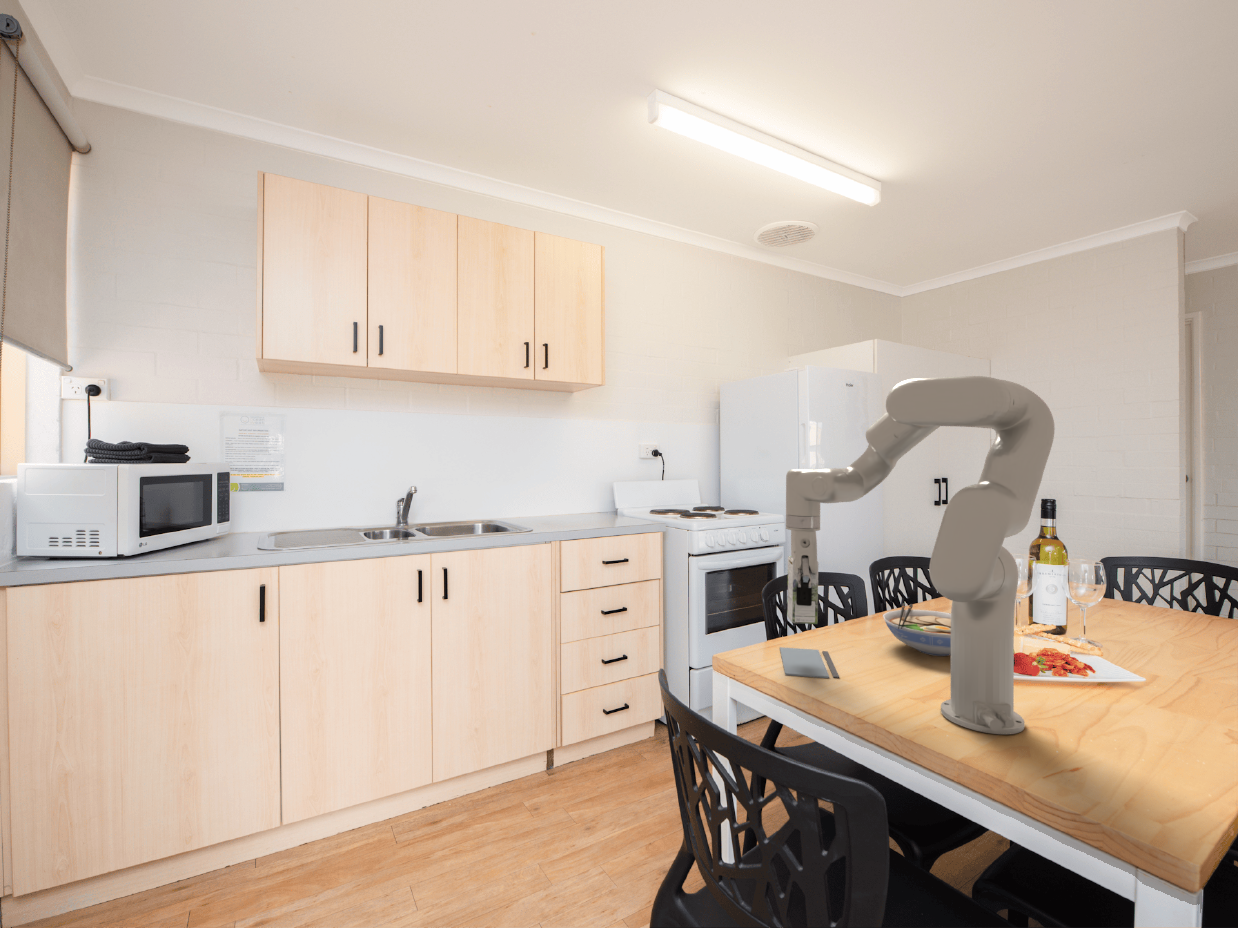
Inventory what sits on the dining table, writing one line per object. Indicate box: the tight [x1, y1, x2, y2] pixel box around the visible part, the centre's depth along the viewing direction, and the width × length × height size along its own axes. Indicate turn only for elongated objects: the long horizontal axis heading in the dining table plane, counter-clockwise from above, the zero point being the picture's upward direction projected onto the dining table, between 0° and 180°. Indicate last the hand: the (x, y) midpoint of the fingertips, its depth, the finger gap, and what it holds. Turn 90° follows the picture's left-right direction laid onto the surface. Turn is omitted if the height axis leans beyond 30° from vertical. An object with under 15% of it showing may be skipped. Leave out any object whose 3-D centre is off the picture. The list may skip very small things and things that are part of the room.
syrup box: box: [786, 555, 819, 625], centre depth 132 cm, size 6×6×14 cm
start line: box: [822, 650, 840, 679], centre depth 131 cm, size 17×1×1 cm, turn 168°
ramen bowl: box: [882, 602, 951, 657], centre depth 140 cm, size 25×23×8 cm
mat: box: [779, 646, 830, 679], centre depth 132 cm, size 18×9×1 cm, turn 168°
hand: (802, 600), depth 132 cm, fingers closed on syrup box, 6 cm apart
